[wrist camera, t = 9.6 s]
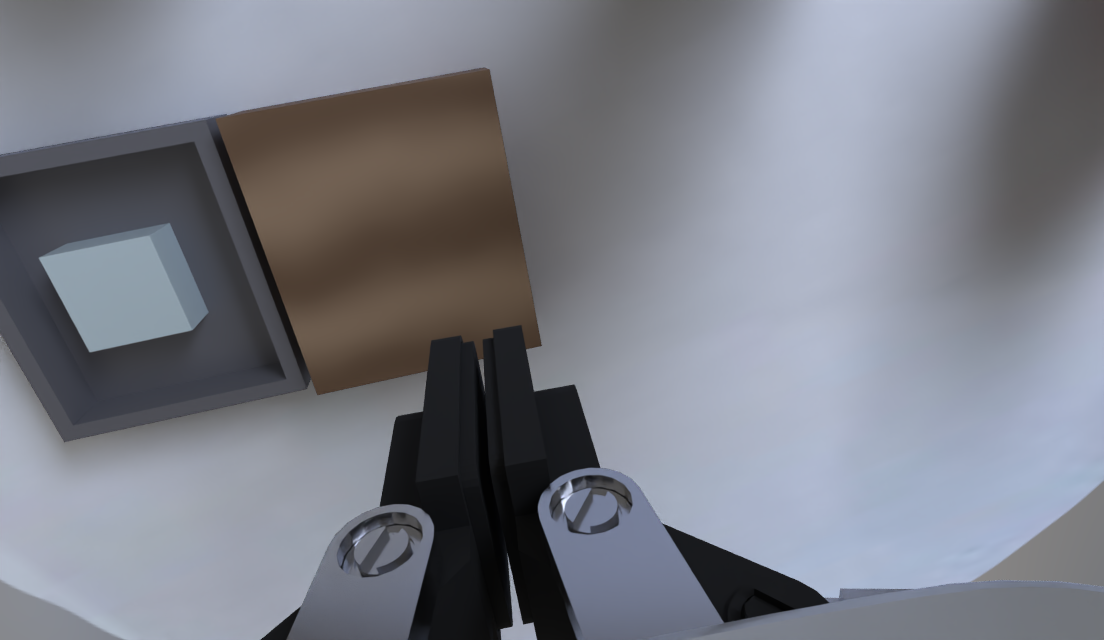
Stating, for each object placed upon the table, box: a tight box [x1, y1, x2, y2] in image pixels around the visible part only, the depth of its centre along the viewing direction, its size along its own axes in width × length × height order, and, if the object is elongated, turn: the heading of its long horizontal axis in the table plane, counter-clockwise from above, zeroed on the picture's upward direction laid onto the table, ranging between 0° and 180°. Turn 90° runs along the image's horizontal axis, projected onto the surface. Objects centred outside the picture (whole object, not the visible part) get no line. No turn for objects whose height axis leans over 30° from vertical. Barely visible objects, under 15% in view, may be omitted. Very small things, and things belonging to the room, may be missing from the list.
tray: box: [0, 114, 311, 442], centre depth 31 cm, size 14×12×3 cm
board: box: [216, 68, 542, 395], centre depth 32 cm, size 14×12×4 cm
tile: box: [39, 223, 209, 352], centre depth 31 cm, size 5×5×2 cm
